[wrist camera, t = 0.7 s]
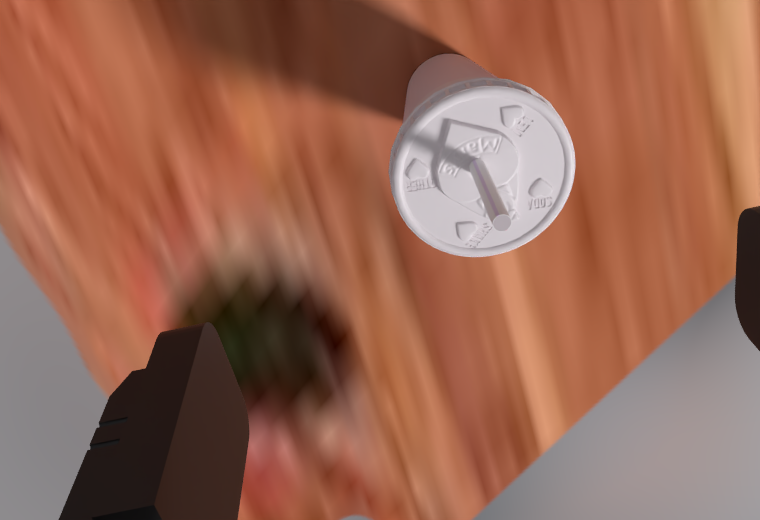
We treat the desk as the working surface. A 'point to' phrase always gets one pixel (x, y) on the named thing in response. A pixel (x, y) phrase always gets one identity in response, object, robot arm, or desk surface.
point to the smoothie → (478, 159)
